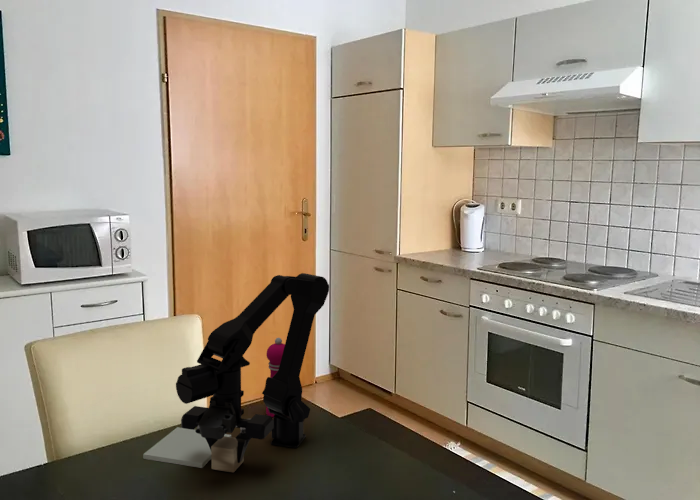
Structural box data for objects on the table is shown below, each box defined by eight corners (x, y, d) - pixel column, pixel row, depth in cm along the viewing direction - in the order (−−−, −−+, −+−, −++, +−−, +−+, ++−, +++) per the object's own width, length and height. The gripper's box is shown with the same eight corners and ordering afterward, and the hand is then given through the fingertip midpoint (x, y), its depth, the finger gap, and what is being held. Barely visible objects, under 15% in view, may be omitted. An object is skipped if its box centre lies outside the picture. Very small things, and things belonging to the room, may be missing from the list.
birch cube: (243, 461, 128) (243, 439, 128) (233, 472, 123) (233, 449, 123) (222, 457, 129) (222, 436, 129) (211, 469, 125) (211, 446, 124)
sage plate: (231, 438, 139) (231, 434, 139) (202, 467, 126) (201, 463, 126) (177, 431, 143) (177, 427, 143) (143, 458, 129) (143, 454, 129)
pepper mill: (287, 420, 150) (287, 343, 147) (260, 417, 152) (259, 340, 149) (295, 408, 157) (296, 334, 154) (269, 406, 159) (269, 332, 156)
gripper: (165, 398, 119) (167, 472, 121) (253, 410, 114) (253, 486, 116) (193, 379, 129) (195, 447, 132) (274, 389, 125) (274, 459, 127)
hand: (227, 460), depth 126 cm, fingers closed on birch cube, 5 cm apart
